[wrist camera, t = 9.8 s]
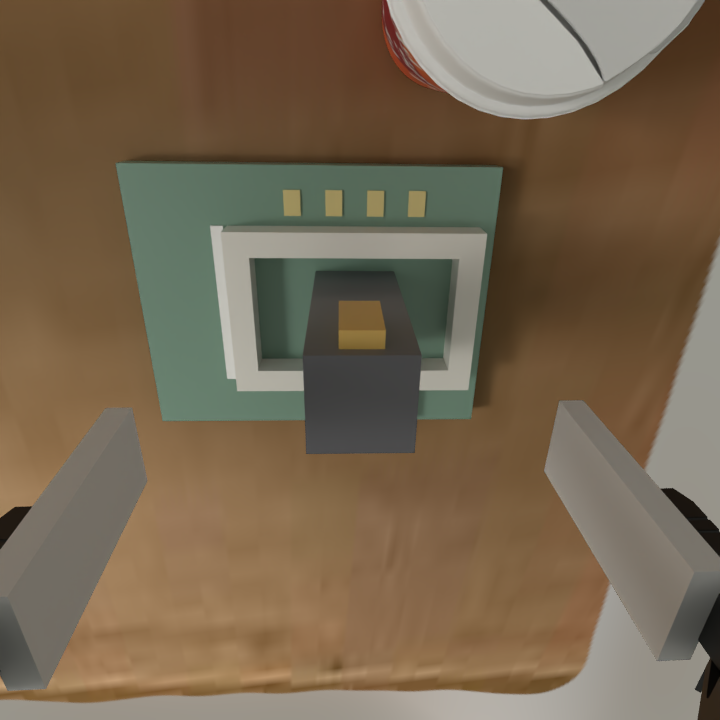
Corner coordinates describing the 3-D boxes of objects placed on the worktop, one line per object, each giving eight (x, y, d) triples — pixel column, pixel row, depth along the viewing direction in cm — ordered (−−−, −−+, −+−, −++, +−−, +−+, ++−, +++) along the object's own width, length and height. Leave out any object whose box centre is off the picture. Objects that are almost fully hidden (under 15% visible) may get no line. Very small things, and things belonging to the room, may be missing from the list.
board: (168, 410, 31) (154, 435, 28) (125, 160, 25) (101, 166, 22) (466, 408, 31) (477, 433, 29) (496, 164, 25) (512, 170, 23)
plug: (317, 342, 28) (306, 454, 19) (315, 257, 26) (301, 336, 17) (390, 342, 28) (414, 453, 19) (394, 257, 26) (423, 336, 17)
